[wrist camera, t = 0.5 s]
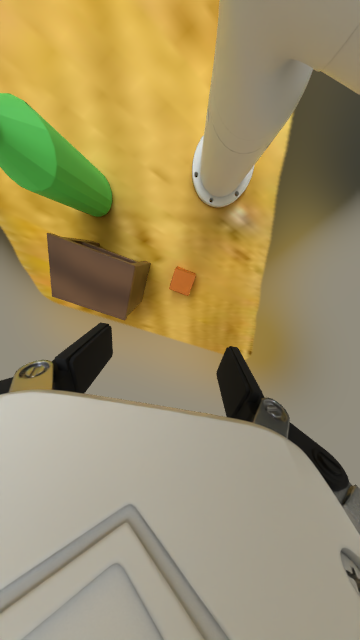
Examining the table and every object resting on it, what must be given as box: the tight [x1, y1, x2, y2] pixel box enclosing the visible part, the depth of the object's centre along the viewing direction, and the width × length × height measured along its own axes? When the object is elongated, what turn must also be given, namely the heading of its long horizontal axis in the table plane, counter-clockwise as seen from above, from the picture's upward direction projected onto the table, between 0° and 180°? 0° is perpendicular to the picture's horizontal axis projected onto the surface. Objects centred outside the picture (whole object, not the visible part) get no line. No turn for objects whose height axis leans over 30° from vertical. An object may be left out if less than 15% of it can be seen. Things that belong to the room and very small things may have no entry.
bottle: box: [0, 93, 112, 217], centre depth 20 cm, size 9×9×25 cm
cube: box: [169, 267, 196, 296], centre depth 37 cm, size 5×5×5 cm
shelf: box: [47, 233, 151, 320], centre depth 34 cm, size 13×16×13 cm
